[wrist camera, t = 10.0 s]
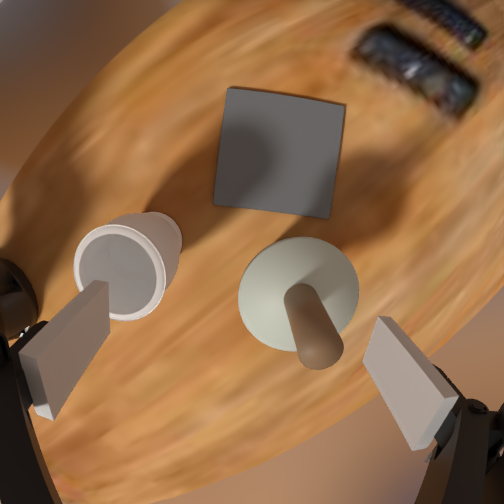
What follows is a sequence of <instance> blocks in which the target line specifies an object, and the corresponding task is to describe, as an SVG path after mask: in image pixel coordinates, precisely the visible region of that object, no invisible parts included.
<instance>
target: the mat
mask: <svg viewBox="0 0 504 504" xmlns="http://www.w3.org/2000/svg"><path fill="white" fill-rule="evenodd" d="M343 115H344V106H339V105H335V104H330V103H325V102H320V101H315V100H310V99H304V98H299V97H293V96H286V95H280V94H273V93H266V92H258V91H250V90H241V89H231V88H227V94H226V101H225V108H224V115H223V123H222V130H221V138H220V146H219V154H218V163H217V171H216V180H215V189H214V198H213V205H221V206H230V207H239V208H247V209H256V210H264V211H272V212H280V213H288V214H295V215H303V216H310V217H317V218H324V219H329V216H330V210H331V204H332V198H333V191H334V185H335V178H336V171H337V164H338V156H339V149H340V141H341V133H342V124H343Z"/></svg>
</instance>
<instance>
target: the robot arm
mask: <svg viewBox="0 0 504 504" xmlns="http://www.w3.org/2000/svg"><path fill="white" fill-rule="evenodd" d="M37 315H38V308H37V301H36V297H35V294H34V291H33V289H32V286H31V284H30V282H29V281H28V279H27V277H26V276H25V275H24V273H23V272H22V271H21V270H20V269H19V268H18V267H17V266H16V265H15V264H14V263H12V262H10V261H8V260H6V259H0V500H1V503H2V504H62V501H61V499H60V497H59V495H58V493H57V490H56V488H55V486H54V483H53V481H52V478H51V476H50V473H49V471H48V468H47V466H46V463H45V460H44V458H43V455H42V452H41V449H40V446H39V443H38V440H37V437H36V434H35V431H34V428H33V424H32V421H31V417H30V414H29V411H28V409H29V407H30V406H31V404H32V403H33V405H34V408H35V411H36V414H37V415H40V416H42V417H45V418H48V419H50V420H53V421H54V420H55V418H56V416H57V415H58V413H59V411H60V410H61V408H62V406H63V405H64V403H65V401H66V400H67V398H68V397H69V395H70V393H71V392H72V390H73V389H74V387H75V385H76V384H77V382H78V381H79V379H80V377H81V376H82V374H83V373H84V371H85V370H86V368H87V367H88V365H89V364H90V362H91V360H92V359H93V357H94V356H95V354H96V353H97V351H98V350H99V348H100V347H101V345H102V344H103V342H104V341H105V339H106V338H107V336H108V335H109V334H110V315H109V282H106V281H100V280H95V279H94V280H93V281H92V282H91V283H90V284H89V285H88V286H87V287H86V288H85V289H83V290H82V291H81V292H80V293H79V294H78V295H77V296H76V297H75V298H74V299H73V300H71V301H70V302H69V303H68V304H67V305H66V306H65V307H64V308H63V309H62V310H61V311H60V312H59V313H58V314H57V315H56V316H55V317H54V318H52V319H51V320H50V321H49V322H48V321H44V320H43V321H41V322H39V323H37V324H35V323H36V321H37ZM20 337H22V338H20ZM17 338H19V339H18V340H17V341H16V342H15V343H14V344H13V345H12V346H11V347H10V348H9V344H8V341H10V340H13V339H17ZM362 362H363V364H364V365H365V367H366V369H367V370H368V372H369V374H370V376H371V377H372V379H373V381H374V383H375V384H376V386H377V388H378V390H379V392H380V393H381V395H382V397H383V399H384V400H385V402H386V403H387V406H388V407H389V409H390V411H391V413H392V415H393V416H394V418H395V420H396V422H397V424H398V426H399V427H400V429H401V431H402V433H403V435H404V437H405V438H406V440H407V442H408V444H409V446H410V448H411V450H412V451H413V450H419V449H424V448H427V447H428V446H429V444H430V443H431V441H432V440H433V438H435V439H436V441H437V445H436V446H435V448H434V449H433V451H432V452H431V453H430V455H429V456H428V457H427V459H426V460H425V462H428V460H429V459H430V462H429V465H428V468H427V471H426V475H425V477H424V480H423V483H422V485H421V488H420V491H419V493H418V496H417V498H416V501H415V503H414V504H504V451H503V454H502V456H501V457H500V453H499V452H500V451H501V449H502V448H503V447H504V403H503V404H502V406H501V407H500V409H499V411H498V412H497V411H489V409H488V408H487V406H486V405H485V404H483V403H482V402H480V401H478V400H475V399H466V398H465V397H464V396H463V395H462V393H461V392H460V391H459V390H458V389H457V388H456V386H455V385H454V384H453V383H452V381H451V380H450V379H449V378H447V376H446V374H445V373H444V372H443V371H442V370H441V369H440V368H438V367H437V366H435V365H434V364H432V363H431V362H430V361H429V360H428V359H427V357H426V356H425V355H424V354H423V353H422V352H421V350H420V349H419V348H418V347H417V346H416V345H415V344H414V342H413V341H412V340H411V339H410V338H409V337H408V336H407V335H406V333H405V332H404V331H403V330H402V329H401V328H400V327H399V326H398V324H397V323H396V322H395V321H394V320H393V319H392V318H391V317H385V316H378V318H377V321H376V324H375V327H374V330H373V333H372V336H371V339H370V341H369V344H368V347H367V350H366V353H365V355H364V358H363V361H362Z"/></svg>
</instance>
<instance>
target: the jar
mask: <svg viewBox="0 0 504 504" xmlns="http://www.w3.org/2000/svg"><path fill="white" fill-rule="evenodd" d="M181 248H182V235H181V232H180V229H179V227H178V225H177V224H176V223H175V222H174V220H173V219H171V218H170V217H169V216H167V215H165V214H163V213H159V212H147V213H132V214H127V215H123V216H120V217H118V218H116V219H114V220H112V221H110V222H109V223H107V224H106V225H103V226H100V227H98V228H96V229H94V230H93V231H91V232H90V233H88V234H87V235H86V236H85V237H84V238H83V239H82V241H81V242H80V244H79V246H78V248H77V250H76V253H75V256H74V263H73V272H74V278H75V282H76V285H77V288H78V290H79V292H81V291H82V290H83V289H85V288H86V287H87V286H88V285H89V284H90V283H91V282H92V281H93V280H94V279H95V280H100V281H106V282H109V315H110V319H113V320H118V321H133V320H137V319H140V318H143V317H145V316H146V315H148V314H149V313H151V312H152V311H153V310H154V309H155V308H156V307H157V305H158V304H159V302H160V301H161V299H162V297H163V295H164V292H165V290H166V289H167V288H168V287H169V285H170V284H171V282H172V280H173V278H174V276H175V274H176V271H177V268H178V264H179V256H180V251H181Z"/></svg>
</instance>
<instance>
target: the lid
mask: <svg viewBox="0 0 504 504" xmlns="http://www.w3.org/2000/svg"><path fill="white" fill-rule="evenodd" d="M358 299H359V282H358V277H357V274H356V272H355V269H354V267H353V265H352V264H351V262H350V261H349V259H348V258H347V257H346V256H345V255H344V254H343V253H342V252H341V251H340V250H339V249H338V248H336V247H335V246H333V245H332V244H330V243H328V242H326V241H324V240H321V239H318V238H313V237H304V236H300V237H291V238H286V239H283V240H280V241H277V242H275V243H273V244H271V245H269V246H267V247H266V248H264V249H263V250H262V251H260V252H259V253H258V254H257V255H256V256H255V257H254V258H253V259H252V260H251V262H250V263H249V265H248V266H247V267H246V269H245V271H244V273H243V275H242V278H241V281H240V286H239V294H238V303H239V310H240V314H241V317H242V320H243V322H244V324H245V325H246V327H247V329H248V330H249V331H250V332H251V334H252V335H254V336H255V337H256V338H257V339H258V340H260V341H261V342H262V343H264V344H266V345H268V346H270V347H273V348H275V349H279V350H284V351H297V352H298V356H299V359H300V361H301V363H302V364H303V365H304V366H305V367H307V368H309V369H313V370H321V369H325V368H328V367H330V366H332V365H334V364H335V363H336V362H337V361H338V360H339V359H340V357H341V356H342V353H343V349H344V345H343V342H342V339H341V337H340V336H339V333H340V332H341V331H342V330H343V329H344V328H345V327H346V326H347V325H348V323H349V322H350V320H351V318H352V317H353V315H354V312H355V310H356V307H357V304H358Z"/></svg>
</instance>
